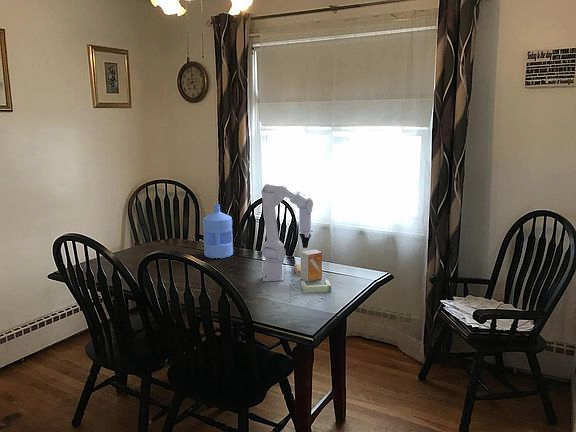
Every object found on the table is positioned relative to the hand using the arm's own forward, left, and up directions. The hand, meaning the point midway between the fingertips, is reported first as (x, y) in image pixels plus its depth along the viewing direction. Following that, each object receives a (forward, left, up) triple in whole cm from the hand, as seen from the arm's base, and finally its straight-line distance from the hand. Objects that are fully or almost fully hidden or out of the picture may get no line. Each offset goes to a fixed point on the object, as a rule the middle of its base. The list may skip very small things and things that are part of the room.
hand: (305, 247), depth 246 cm
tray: (0, -34, -9) cm, 35 cm away
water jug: (-44, +25, -10) cm, 52 cm away
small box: (0, -20, -10) cm, 22 cm away
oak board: (0, -10, -10) cm, 14 cm away
